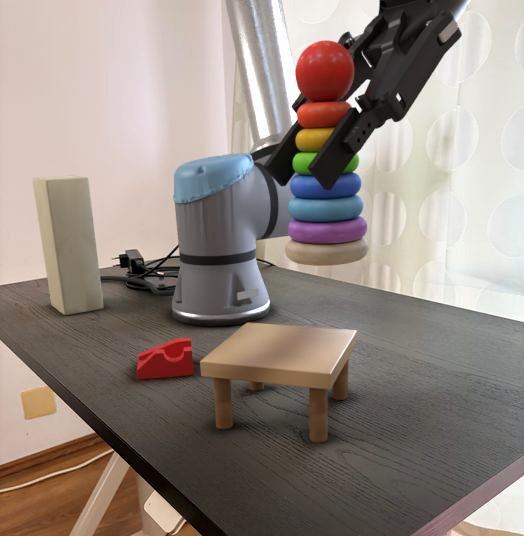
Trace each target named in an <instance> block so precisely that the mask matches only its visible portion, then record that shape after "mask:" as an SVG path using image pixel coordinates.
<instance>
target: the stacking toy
mask: <svg viewBox="0 0 524 536" xmlns="http://www.w3.org/2000/svg"><path fill="white" fill-rule="evenodd" d="M295 77H296V83H297V86H298V90H299V93H302V95H303V96H304V97H305V98H306V99H307V100H310V101H312V102H313V103H308V104H303V105H302V106H300V107H299V109H298V111H297V120H298V123H299V124H300V125H301V126H302V127H304V128H305V129H303V130H301V131H300V132H299V133H298V134H297V136H296V146H297V147H298V149H299V150H301V151H303V152H301V153H298V154H296V155H295V157H294V159H293V168H294V170H295V172H296V173H297V174H298V175H296V176H294V177H293V179H292V180H291V183H290V189H291V192H292V194H293V195H294V196H295V197H294V198H292V199H291V200H290V202H289V205H288V210H289V213H290V215H291V216H292V217H293V218H294V219H293V220H292V221H291V222H290V223H289V225H288V233H289V236H288V237H289V238H290V239H289V240H288V241H287V242H286V244H285V247H284V253H285V256H286V257H287V258H288V260H290V261H291V262H293V263H295V264H299V265H305V266H315V267H316V266H317V267H326V266H327V267H328V266H329V267H330V266H340V265H341V266H342V265H347V264H352V263H355V262H358V261H361V260H362V259H364V258H365V257H366V256H367V255H368V253H369V248H370V245H369V242H368V240H367V239H366V238H365V237H364V236H365V235H366V233H367V231H368V222H367V220H366V219H365V217H362V216H360V215H361V214H362V213H363V210H364V201H363V199H362V197H360V196H359V195H357V194H358V193H359V192H360V191H361V188H362V179H361V176H360V175H359V174H358V173H356V172H355V171H356V170H357V169H358V168H359V164H360V156H359V155H358V153H356V154H355V156H354V157H353V159H352V160H351V162H350V163H349V164H348V166H347V167H346V169H345V170H344V172H343V173H342V174H341V176H340V177H339V179H338V180H337V182H336V183H335V184H334V186H333V187H332V189H331V190H325V189H324V188H323V187H322V186H321V185H320V183H319V182H318V181H317V180H316V178H315V177H314V176H313V175H312V174H311V172H310V171H309V170H308V169H307V167H308V166H309V164H310V163H311V161H312V160H313V159H314V157H315V156H316V154H317V153H318V152H319V150H320V149H321V147H322V146H323V145H324V143H325V142H326V140H327V139H328V137H329V136H330V135H331V133H332V132H333V130H334V129H335V128H336V126H337V125H338V123H339V122H340V121H341V119H342V118H343V116H344V115H345V114H346V112H347V111H348V109H349V108H352V107H353V106H352V104H351V103H349V102H348V101H346V102H338V101H337V100H339V99H341V98H343V97H344V96H345V95H346V93H347V92H348V91H349V89H350V87H351V85H352V82H353V79H354V63H353V60H352V57H351V55H350V53H349V52H348V51H347V49H346V48H345V47H343V46H342V45H341V44H339V43H338V41H333V40H327V39H325V40H319V41H316V42H313V43H311V44H310V45H308V46H307V47H306V48H305V49H304V50H303V51H302V52H301V53H300V55H299V57H298V59H297V61H296V65H295Z"/></svg>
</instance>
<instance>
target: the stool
mask: <svg viewBox="0 0 524 536" xmlns="http://www.w3.org/2000/svg"><path fill="white" fill-rule="evenodd" d="M357 344H358V330H356V329H347V328H346V329H344V328H333V327H332V328H330V327H317V326H316V327H315V326H305V325H304V326H303V325H289V324H274V323H273V324H272V323H260V322H246V323H244V324H243V325H242V326H241V327H239V328H238V329H237V330H236V331H235V332H234V333H232V334H231V335H230V336H229V337H227V338H226V339H225V340H223V342H222V343H220V344H219V345H218V346H217V347H216V348H214V349H213V350H212V351H210V352H209V353H208V354H207V355H205V357H204V358H202V359H201V360H200V361H199V364H200V366H199V367H200V376H201V377H204V378H212V388H213V400H214V401H213V402H214V415H215V427H216V428H217V429H219V430H229V429H231V428H232V427H233V425H234V419H233V404H232V402H233V401H232V387H231V380H232V381H234V380H235V381H241V382H242V381H243V382H249V383H248V385H249V389H250V390H251V391H254V392H259V391H263V390H264V389H265V384H270V385H281V386H290V387H291V386H292V387H298V388H299V387H300V388H308V393H309V394H308V397H309V398H308V400H309V401H308V402H309V409H308V410H309V412H308V413H309V440H310V441H311V442H314V443H324V442H326V441H327V440H328V438H329V437H328V436H329V435H328V433H329V432H328V430H329V429H328V428H329V427H328V425H329V424H328V422H329V421H328V420H329V419H328V417H329V416H328V415H329V414H328V408H329V407H328V404H329V402H328V400H329V399H328V397H329V396H328V393H329V390H332V391H331V392H332V393H331V394H332V395H331V396H332V399H334V400H337V401H344V400H347V399H348V397H349V358H350V356H351V355H352V353H353V351H354V349H355V347H356V346H357Z"/></svg>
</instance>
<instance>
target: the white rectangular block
mask: <svg viewBox="0 0 524 536" xmlns="http://www.w3.org/2000/svg"><path fill="white" fill-rule="evenodd" d="M31 180H32V187H33V193H34V200H35V206H36V207H35V208H36V213H37V221H38V225H39V226H38V227H39V232H40V233H39V234H40V238H41V240H40V241H41V247H42V252H43V259H44V265H45V272H46V278H47V285H48V293H49V299H50V303H51V307H53V308H55V309H56V310H57V311H58V312H60V313H61V314H62V315H64V316H70V315H74V314H81V313H85V312H92V311H96V310H102V309H104V299H103V289H102V281H101V280H100V276H101V273H100V265H99V257H98V247H97V240H96V232H95V224H94V223H95V222H94V216H93V214H94V213H93V207H92V199H91V190H90V189H91V188H90V182H89V178H88V177H86V176H79V175H70V174H69V175H55V176H37V177H32V179H31Z"/></svg>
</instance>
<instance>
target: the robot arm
mask: <svg viewBox="0 0 524 536" xmlns="http://www.w3.org/2000/svg"><path fill="white" fill-rule="evenodd" d="M224 2H225V7H226V13H227V17H228V21H229V27H230V32H231V36H232V43H233V47H234V52H235V58H236V63H237V67H238V72H239V78H240V82H241V87H242V88H241V89H242V92H243V99H244V103H245V108H246V109H245V110H246V113H247V119H248V123H249V128H250V134H251V139H252V144H253V145H252V147H251V148H250V150H249V151H248V152H237V153H228V154H222V155H214V156H208V157H203V158H198V159H195V160H190V161H188V162H184V163H182V164H180V165H179V166H178V167H177V168H176V169H175V171H174V173H173V196H172V200H173V202H174V211H175V221H176V233H177V242H178V253H179V254H178V255H179V271H178V274H177V279H176V284H175V289H173V290H159V289H157V288H156V286H155V285H154V283H152V282H150V281H149V280H148V281H147V280H145V279H141V278H138V277H137V278H136V277H131V278H129V276H122V275H121V276H120V275H100V280H101V282H108V281H109V282H125V283H133V284H138V285H142V286H144V287H147V288H149V289H150V291H151V292H152V293H153V295H156V296H158V297H172V301H171V311H172V312H171V313H172V317H173V318H174V320H175V321H178V322H181V323H184V324H187V325H192V326H200V327H201V326H202V327H203V326H204V327H222V326H223V327H224V326H231V325H232V326H234V325H238V324H241V325H242V324H246V323H251V322H253V321H257V320H259V319H261V318H264V317H265V316H266V315H268V314H269V313H270V311H271V307H270V305H271V303H270V296H269V293H268V290H267V287H266V285H265V283H264V279H263V277H262V274H261V270H260V269H259V266H258V262H257V246H256V245H257V244H256V241H261V240H262V241H263V240H270V239H277V238H283V237H290V236H289V233H288V225H289V223H290V222H291V221H292V220H293V219H294V218H293V217H292V216H291V215H290V213H289V210H288V205H289V202H290V200H291V199H292V198H294V197H295V196H294V195H293V194H292V192H291V189H290V183H291V180H292V179H293V177H294V176H296V175H298V174H297V173H296V172H295V170H294V168H293V159H294V157H295V155H296V154H298V153H301V152H303V151H301V150H299V149H298V147H297V146H296V136H297V134H298V133H299V132H300V131H301V130H303V129H305V128H304V127H302V126H301V125H300V124H299V123H298V120H297V111H298V109H299V107H300V106H302V105H303V104H308V103H313V102H312V101H310V100H307V99H306V98H305V97H304V96H303V95H302V93H301V92H300V90H299V89H298V86H297V83H296V77H295V70H296V68H295V64H294V58H293V53H292V48H291V42H290V38H289V33H288V27H287V21H286V17H285V11H284V6H283V1H282V0H224ZM470 2H471V0H379V3H378V5H379V7H378V14H377V15H376V16H374V17H373V18H372V20H371V21H370V22H369V23H368V24H367V25H366V26H365V28H364V30H363V32H362V33H361V34H358V35H356V36H353V35H352V34H351V32H350V31H346V32H344V33H343V34H341V36H340V37H339V39H338V41H337V43H339V44H341V45H342V46H343V47H345V48H346V49H347V51H348V52H349V53H350V55H351V57H352V60H353V63H354V79H353V82H352V85H351V87H350V89H349V91H348V92H347V93H346V95H345V96H344V97H343V98H341V99H339V100H337V101H338V102H348V100H349V99H350V98H351V97H352V96H353V95H354V93H356V91H357V90H358V89H359V88H360V87H362V85H363V84H364V83H365V82H366V81H368V80H369V83H368V85H367V86H366V89H365V92H364V93H362V94H360V95H357V96H355V97H354V101H355V102H356V103H357V105H358V106H359V108H360V109H361V110H360V111H359V109H358V108H357V107H355V106H352V108H349V109H348V111H347V112H346V114H345V115H344V116H343V118H342V119H341V121H340V122H339V123H338V125H337V126H336V128H335V129H334V130H333V132H332V133H331V135H330V136H329V137H328V139H327V140H326V142H325V143H324V145H323V146H322V147H321V149H320V150H319V152H318V153H317V154H316V156H315V157H314V159H313V160H312V161H311V163H310V164H309V166H308V167H307V169H308V170H309V171H310V172H311V174H312V175H313V176H314V177H315V178H316V180H317V181H318V182H319V183H320V185H321V186H322V187H323V188H324V189H325V190H331V189H332V187H333V186H334V184H335V183H336V182H337V180H338V179H339V177H340V176H341V174H342V173H343V172H344V170H345V169H346V167H347V166H348V164H349V163H350V162H351V160H352V159H353V157H354V156H355V154H356V153H357V154H358V153H359V152H360V151H361V150H362V148H363V147H364V146H365V144H366V143H367V141H368V140H369V139H370V137H371V135H373V133H374V131H375V130H377V129H380V128H382V127H383V126H384V125H385V124H386V122H387V121H388V120H392V122H393V123H399V122H400V121H402V120H404V118H405V117H406V115H408V112H409V111H410V109H411V108H412V106H413V105H414V103H415V101H416V100H417V99H418V97H419V95H420V94H421V92H422V91H423V89H424V88H425V86H426V84H427V83H428V81H429V79H430V78H431V76H432V75H433V73H434V72H435V70H436V69H437V67H438V66H439V64H440V62H441V61H442V60H443V58H444V56H445V55H446V54H447V52H448V51H450V49H451V48H452V47H453V46H454V45H455V44H456V43H457V42H458V41H459V40H460V39H461V37H462V36H463V33H462V30H461V28H460V27H459V25H458V22H457V21H458V20H459V19H460V17H461V16H462V14H463V13H464V12H465V10H466V7H467V5H468V4H470ZM397 96H399V98H400V99H398V97H397Z"/></svg>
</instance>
